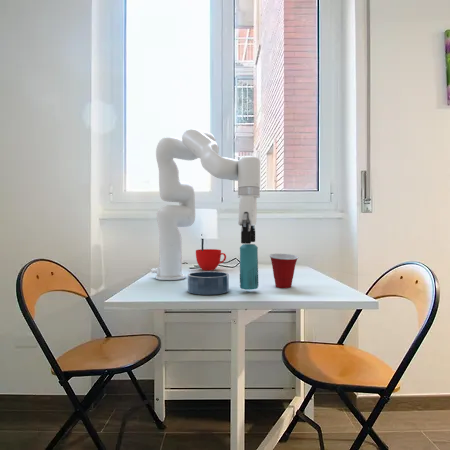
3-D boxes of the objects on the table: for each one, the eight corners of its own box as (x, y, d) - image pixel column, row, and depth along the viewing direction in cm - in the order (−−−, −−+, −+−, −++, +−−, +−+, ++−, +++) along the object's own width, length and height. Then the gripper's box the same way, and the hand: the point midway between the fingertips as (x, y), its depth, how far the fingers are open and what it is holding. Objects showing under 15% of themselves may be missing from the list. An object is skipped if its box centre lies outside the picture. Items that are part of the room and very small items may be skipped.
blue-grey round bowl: (186, 295, 115) (186, 277, 115) (189, 287, 130) (189, 271, 130) (229, 295, 116) (229, 277, 116) (227, 287, 130) (227, 271, 130)
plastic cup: (280, 290, 124) (280, 256, 124) (263, 285, 134) (263, 254, 134) (304, 288, 129) (304, 255, 129) (286, 283, 139) (286, 253, 139)
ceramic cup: (218, 272, 168) (218, 251, 168) (190, 270, 177) (190, 250, 177) (232, 269, 179) (232, 250, 179) (205, 267, 188) (205, 248, 188)
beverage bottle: (257, 294, 118) (257, 234, 117) (237, 293, 119) (237, 234, 119) (259, 290, 124) (259, 234, 124) (240, 290, 125) (240, 233, 125)
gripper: (242, 195, 130) (242, 241, 131) (232, 191, 114) (232, 244, 114) (262, 194, 129) (262, 241, 129) (255, 190, 112) (255, 244, 112)
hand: (248, 242), depth 121 cm, fingers open, 9 cm apart
